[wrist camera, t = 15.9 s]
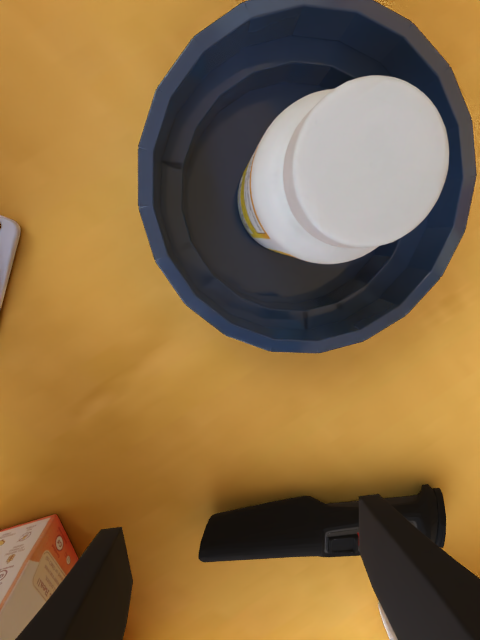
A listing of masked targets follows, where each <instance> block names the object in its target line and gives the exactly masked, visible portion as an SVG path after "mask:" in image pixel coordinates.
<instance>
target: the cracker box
mask: <svg viewBox="0 0 480 640" xmlns="http://www.w3.org/2000/svg"><path fill="white" fill-rule="evenodd" d="M78 560H79V559H78V557H77V555H76V553H75V551H74V548H73V547H72V545H71V542H70V540H69V538H68V536H67V534H66V532H65V530H64V528H63V525H62V524H61V522H60V520H59V517H58V516H57V514H54V515H50V516H47V517H44V518H40V519H37V520H34V521H30V522H27V523H24V524H20V525H16V526H13V527H10V528H7V529H3V530H0V640H15V639H16V638H17V637H18V635H19V634H20V633H21V632H22V631H23V629H24V628H25V627H26V626H27V625H28V623H29V622H30V621H31V620H32V619H33V617H34V616H35V615H36V614H37V613H38V611H39V610H40V609H41V608H42V606H43V605H44V604H45V603H46V601H47V600H48V599H49V598H50V596H51V595H52V594H53V592H54V591H55V590H56V589H57V587H58V586H59V585H60V583H61V582H62V581H63V580H64V578H65V577H66V576H67V574H68V573H69V572H70V570H71V569H72V568H73V566H74V565H75V564H76V562H77V561H78Z"/></svg>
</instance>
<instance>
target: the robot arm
mask: <svg viewBox="0 0 480 640" xmlns="http://www.w3.org/2000/svg"><path fill="white" fill-rule="evenodd" d="M0 223H1V229H0V310H1V306H2V303H3V299H4V295H5V291H6V287H7V283H8V279H9V276H10V272H11V268H12V264H13V260H14V256H15V253H16V249H17V245H18V241H19V237H20V233H21V229H20V226H19V224H18V223H17V222H16V221H14V220H12V219H10V218H7V217H4V216H2V215H0ZM359 552H360V555H361V557H362V560H363V563H364V566H365V568H366V571H367V574H368V577H369V579H370V582H371V584H372V587H373V590H374V592H375V594H376V596H377V598H378V600H379V602H380V604H381V606H382V608H383V610H384V613H385V615H386V617H387V619H388V621H389V623H390V625H391V627H392V629H393V631H394V633H395V635H396V637H397V639H398V640H480V579H479V578H478V577H477V576H475V575H474V574H473V573H471V572H470V571H469V570H467V569H466V568H465V567H464V566H462V565H461V564H460V563H458V562H457V561H456V560H455V559H453V558H452V557H451V556H450V555H448V554H447V553H446V552H445V551H443V550H442V549H441V548H440V547H439V546H437V545H436V544H435V543H434V542H433V541H431V540H430V539H429V538H428V537H427V536H425V535H424V534H423V533H422V532H421V531H420V530H418V529H417V528H416V527H415V526H414V525H413V524H412V523H410V522H409V521H408V520H407V519H406V518H405V517H404V516H403V515H401V514H400V513H399V512H398V511H397V510H396V509H395V508H394V507H392V506H391V505H390V504H389V503H388V502H387V501H386V500H385V499H383V498H382V497H381V496H380V495H379V494H374V495H366V496H359ZM132 584H133V579H132V574H131V570H130V565H129V560H128V555H127V550H126V545H125V540H124V535H123V530H122V527H117V528H109V529H101V530H100V532H99V533H98V534H97V535H96V537H95V538H94V539H93V541H92V542H91V543H90V545H89V546H88V547H87V549H86V550H85V551H84V553H83V554H82V556H81V557H80V558H79V560H78V561H77V562H76V564H75V565H74V566H73V568H72V569H71V570H70V572H69V573H68V574H67V576H66V577H65V578H64V580H63V581H62V582H61V583H60V585H59V586H58V587H57V589H56V590H55V591H54V592H53V594H52V595H51V596H50V598H49V599H48V600H47V601H46V603H45V604H44V605H43V606H42V608H41V609H40V610H39V611H38V613H37V614H36V615H35V616H34V617H33V619H32V620H31V621H30V622H29V623H28V625H27V626H26V627H25V628H24V629H23V631H22V632H21V633H20V634H19V635H18V637H17V638H16V639H15V640H123V636H124V632H125V627H126V623H127V617H128V611H129V605H130V598H131V591H132Z"/></svg>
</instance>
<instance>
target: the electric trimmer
mask: <svg viewBox="0 0 480 640" xmlns="http://www.w3.org/2000/svg"><path fill="white" fill-rule="evenodd" d="M383 499H385V500H386V501H387V502H388V503H389V504H390V505H391V506H392V507H394V508H395V509H396V510H397V511H398V512H399V513H400V514H401V515H403V516H404V517H405V518H406V519H407V520H408V521H409V522H410V523H412V524H413V525H414V526H415V527H416V528H417V529H418V530H420V531H421V532H422V533H423V534H424V535H425V536H427V537H428V538H429V539H430V540H431V541H433V542H434V543H435V544H436V545H437V546H439V547H442V548H443V546H444V542H445V535H446V513H445V506H444V500H443V495H442V492H441V490H440V488H433V489H432V488H431V487H430V486H429V485H428V484H425V485H422V489H421V491H420V492H419V493H418V494H417V495H412V496H403V497H393V498H383ZM359 555H360V552H359V501H350V502H339V503H329V504H325V503H323V502H321V501H319V500H316V499H314V498H312V497H310V496H301V497H295V498H289V499H284V500H279V501H273V502H269V503H264V504H259V505H254V506H249V507H245V508H240V509H235V510H230V511H225V512H220V513H217V514H214V515H212V516H211V517H210V519H209V521H208V523H207V525H206V528H205V531H204V534H203V537H202V540H201V544H200V549H199V559H200V561H202V562H216V561H233V560H250V559H267V558H284V557H306V556H320V557H340V556H359Z"/></svg>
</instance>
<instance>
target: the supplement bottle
mask: <svg viewBox="0 0 480 640" xmlns="http://www.w3.org/2000/svg"><path fill="white" fill-rule="evenodd" d="M448 166H449V143H448V137H447V132H446V128H445V125H444V123H443V120H442V118H441V116H440V114H439V112H438V110H437V108H436V107H435V105H434V104H433V103H432V101H431V100H430V99H429V98H428V97H427V96H426V95H425V94H424V93H423V92H422V91H420V90H419V89H418V88H417V87H415V86H413V85H412V84H410V83H408V82H406V81H404V80H401V79H398V78H395V77H389V76H380V75H372V76H365V77H360V78H356V79H353V80H350V81H347V82H345V83H343V84H342V85H340V86H338V87H337V88H335V89H328V90H323V91H318V92H315V93H312V94H309V95H307V96H305V97H303V98H301V99H299V100H297V101H296V102H294V103H293V104H291V105H290V106H289V107H287V108H286V109H285V110H284V111H283V112H281V113H280V114H279V115H278V116H277V117H276V118H275V120H274V121H273V122H272V123H271V125H270V126H269V127H268V129H267V130H266V132H265V134H264V135H263V137H262V139H261V141H260V142H259V144H258V146H257V148H256V150H255V152H254V154H253V155H252V157H251V159H250V161H249V163H248V165H247V167H246V169H245V171H244V173H243V175H242V178H241V180H240V184H239V188H238V209H239V214H240V218H241V220H242V223H243V225H244V227H245V229H246V230H247V232H248V233H249V234H250V236H251V237H252V238H253V239H254V240H255V241H256V242H257V243H259V244H260V245H262V246H263V247H265V248H267V249H269V250H271V251H274V252H277V253H281V254H284V255H288V256H291V257H295V258H298V259H301V260H304V261H308V262H312V263H319V264H337V263H343V262H348V261H351V260H354V259H357V258H360V257H362V256H364V255H366V254H368V253H369V252H371V251H373V250H374V249H376V248H377V247H378V246H381V245H385V244H388V243H391V242H394V241H395V240H397V239H399V238H401V237H403V236H404V235H406V234H408V233H409V232H411V231H412V230H413V229H414V228H416V227H417V226H418V225H419V224H420V223H421V222H422V221H423V220H424V219H425V218H426V216H427V215H428V214H429V212H430V211H431V210H432V208H433V207H434V205H435V203H436V202H437V200H438V198H439V196H440V193H441V191H442V188H443V186H444V183H445V180H446V176H447V172H448Z"/></svg>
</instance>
